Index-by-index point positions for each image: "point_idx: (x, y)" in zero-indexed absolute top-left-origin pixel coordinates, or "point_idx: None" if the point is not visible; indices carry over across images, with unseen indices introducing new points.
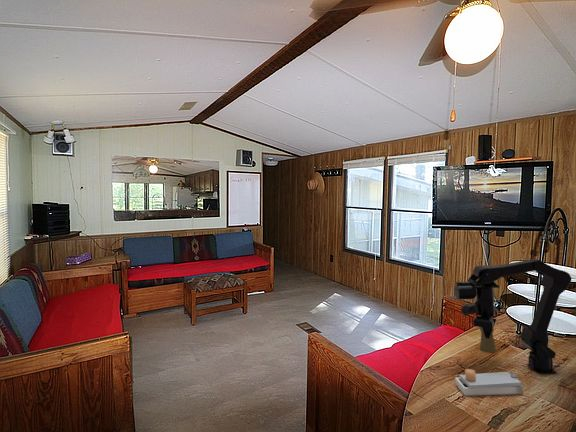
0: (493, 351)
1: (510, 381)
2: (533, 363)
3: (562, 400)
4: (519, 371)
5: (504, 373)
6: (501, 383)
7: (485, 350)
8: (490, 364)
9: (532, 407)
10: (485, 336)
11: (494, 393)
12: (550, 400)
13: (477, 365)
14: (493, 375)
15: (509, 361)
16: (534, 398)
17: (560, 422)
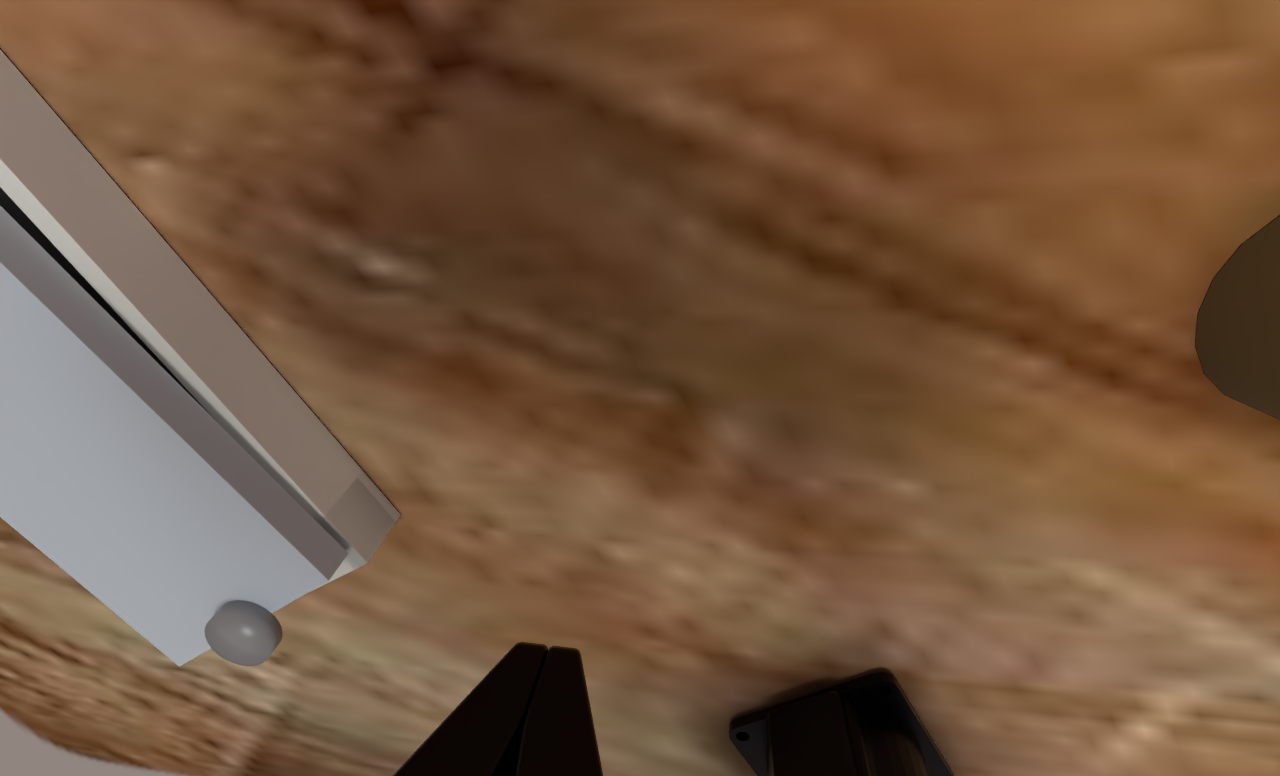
0: (1225, 387)
1: (119, 591)
2: (772, 773)
3: (354, 772)
4: (710, 598)
5: (263, 554)
6: (7, 518)
7: (1237, 284)
8: (770, 347)
9: (108, 619)
10: (488, 679)
11: None
12: (300, 719)
13: (662, 193)
14: (124, 451)
15: (946, 536)
16: None
17: (60, 721)
